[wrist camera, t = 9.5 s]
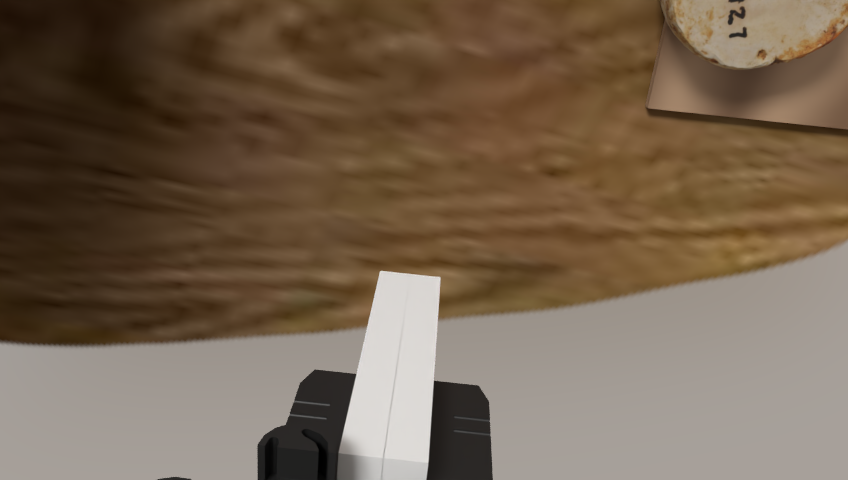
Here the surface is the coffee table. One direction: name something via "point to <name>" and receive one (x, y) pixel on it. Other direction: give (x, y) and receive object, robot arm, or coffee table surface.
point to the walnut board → (754, 86)
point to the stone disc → (754, 29)
